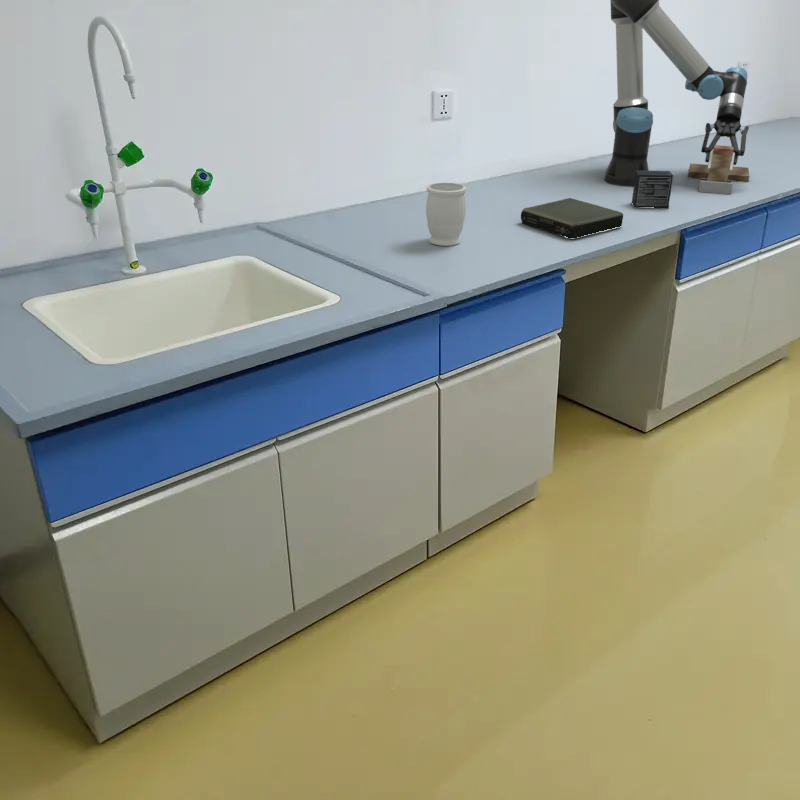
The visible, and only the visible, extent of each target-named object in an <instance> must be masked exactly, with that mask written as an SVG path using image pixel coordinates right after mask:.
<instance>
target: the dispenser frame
mask: <svg viewBox="0 0 800 800" xmlns="http://www.w3.org/2000/svg"><path fill="white" fill-rule="evenodd" d="M732 188H733V181H732V180H727V182H715V181H707V178H699V184H698V192H699V193H709V194H710V193H711V194H722V195H731V192H732Z"/></svg>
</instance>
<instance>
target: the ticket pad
mask: <svg viewBox="0 0 800 800" xmlns="http://www.w3.org/2000/svg"><path fill="white" fill-rule="evenodd" d="M733 150H734V147H732V145H731V146H730V145H720V144H719V145H717V144H716V145H714V148H713V150H712V151H713V155H712V161H711V167H710V171H709V173H708V178H707V181H715V182H727V178H728V173H729V169H730V164H731V160H732V155H733Z"/></svg>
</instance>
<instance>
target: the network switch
mask: <svg viewBox="0 0 800 800" xmlns="http://www.w3.org/2000/svg"><path fill="white" fill-rule="evenodd" d="M623 218H624V213H622V212H620V211H618V210H614V209H611V208H608V207H604V206H600V205H597V204H593V203H590V202H586V201H582V200H579V199H575V198H572V197H568V198H564V199H560V200H556V201H555V200H554V201H551V202H546V203H543V204H542V203H541V204H538V205H533V206H530V207H524V208H523V209H522V211H521V212H520V220H521V223H522V224H523V225H525V224H526V226H528V225H529V227H532V226H533V227H532V228H536V229H540V230H543V231H547V232H550V233H553V234H555V235H558V234H559V236H560V235H562V236H566V237H568V238H577V237H581V236H584V235H588V234H592V233H596V232H599V231H604V230H607V229H612V228H615V227H620V226H623V220H624V219H623ZM562 236H561V237H562Z"/></svg>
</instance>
